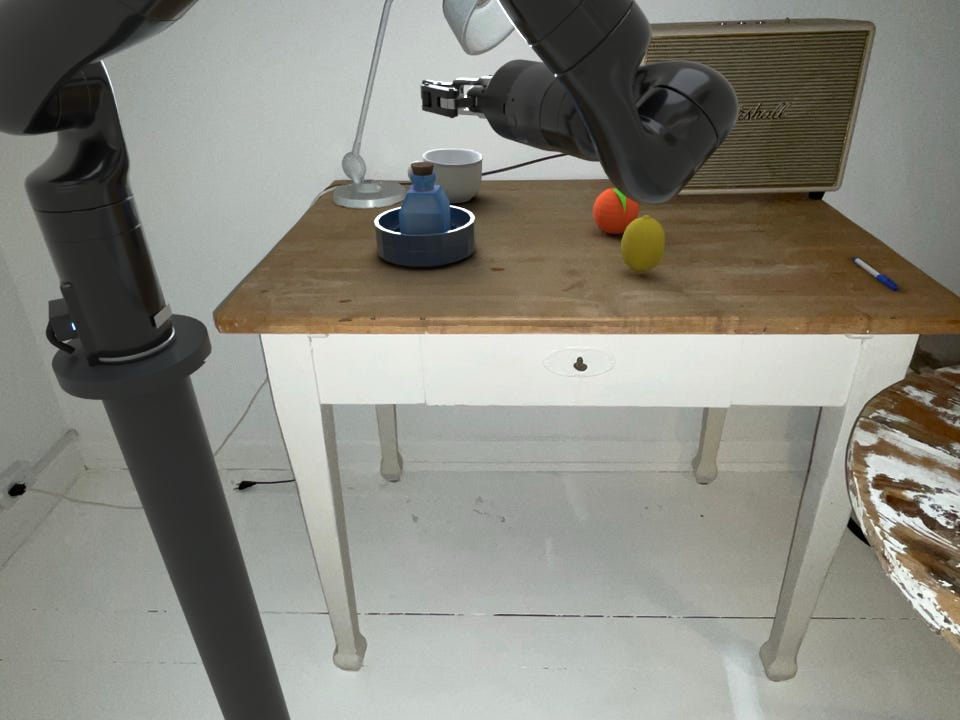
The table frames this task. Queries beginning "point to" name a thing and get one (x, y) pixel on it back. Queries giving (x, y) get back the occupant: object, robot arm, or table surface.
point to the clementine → (614, 211)
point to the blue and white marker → (877, 275)
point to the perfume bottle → (424, 203)
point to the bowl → (425, 240)
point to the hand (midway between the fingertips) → (458, 87)
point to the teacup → (455, 172)
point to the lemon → (643, 244)
